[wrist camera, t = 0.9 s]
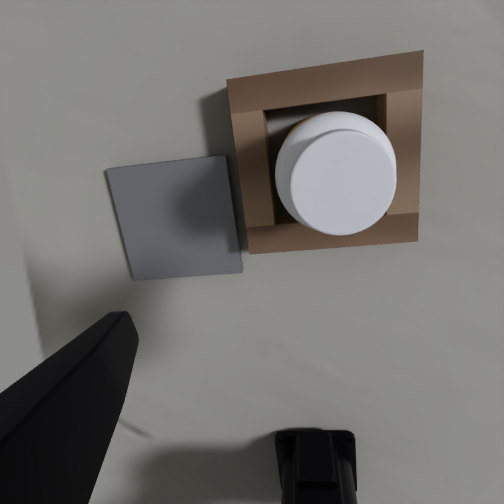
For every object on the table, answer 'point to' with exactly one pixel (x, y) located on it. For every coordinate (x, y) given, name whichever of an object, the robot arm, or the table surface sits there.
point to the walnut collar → (316, 92)
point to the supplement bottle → (336, 173)
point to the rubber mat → (177, 217)
